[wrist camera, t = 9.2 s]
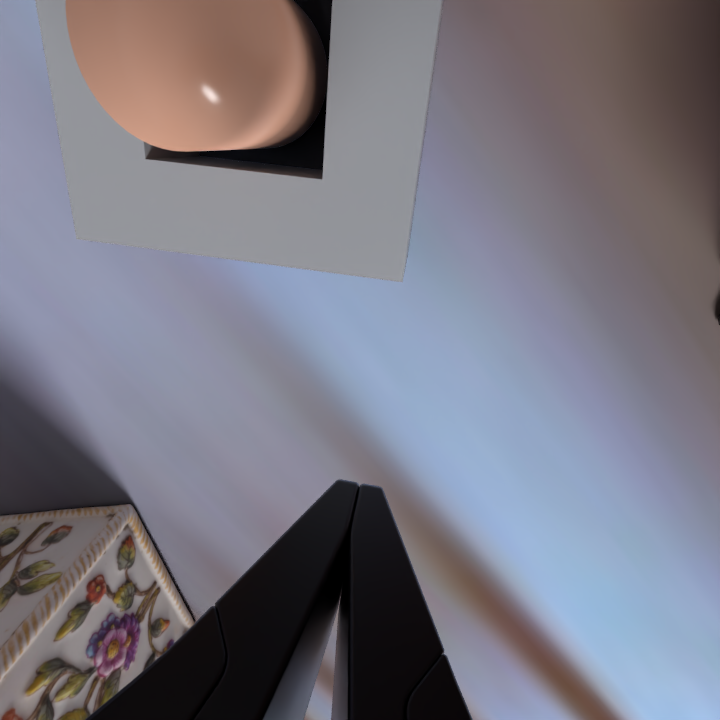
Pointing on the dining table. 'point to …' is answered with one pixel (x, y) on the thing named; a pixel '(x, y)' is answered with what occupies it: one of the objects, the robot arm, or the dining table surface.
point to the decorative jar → (80, 610)
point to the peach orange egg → (202, 69)
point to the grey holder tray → (260, 180)
